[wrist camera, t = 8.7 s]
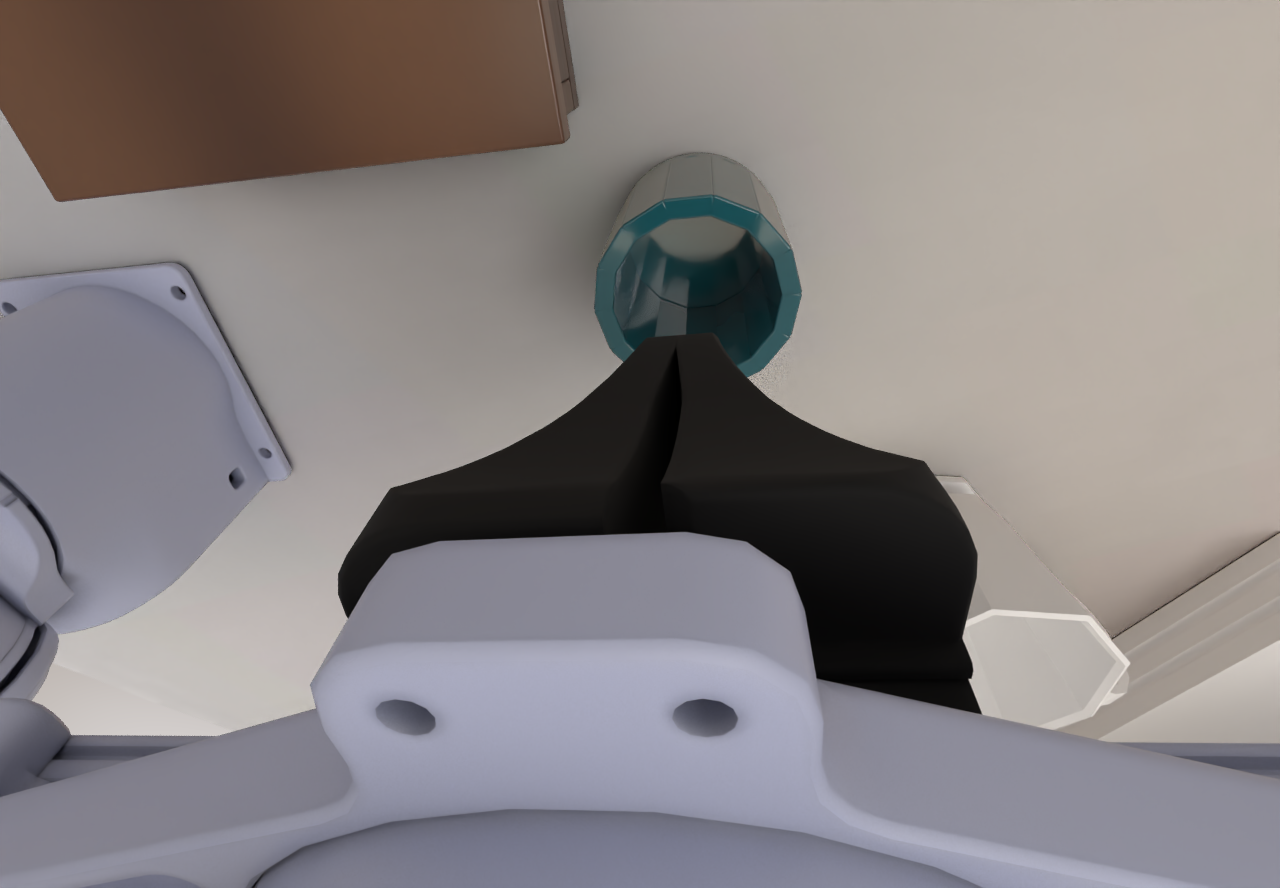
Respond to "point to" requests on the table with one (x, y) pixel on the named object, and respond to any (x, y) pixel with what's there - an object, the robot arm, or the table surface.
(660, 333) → the tumbler
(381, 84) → the lid
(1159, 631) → the white shelf
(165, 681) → the table surface
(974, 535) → the cup
